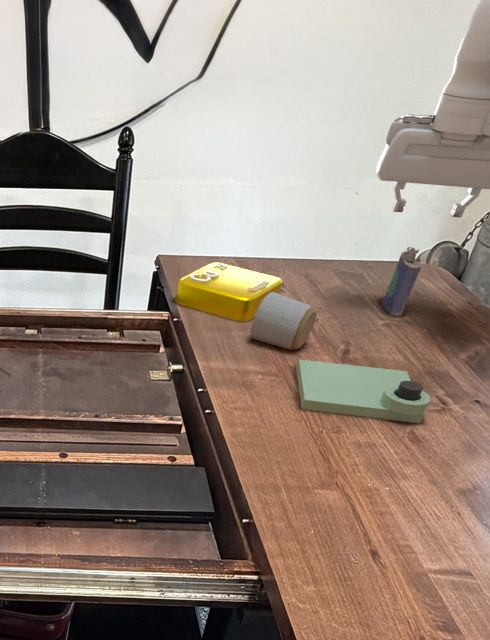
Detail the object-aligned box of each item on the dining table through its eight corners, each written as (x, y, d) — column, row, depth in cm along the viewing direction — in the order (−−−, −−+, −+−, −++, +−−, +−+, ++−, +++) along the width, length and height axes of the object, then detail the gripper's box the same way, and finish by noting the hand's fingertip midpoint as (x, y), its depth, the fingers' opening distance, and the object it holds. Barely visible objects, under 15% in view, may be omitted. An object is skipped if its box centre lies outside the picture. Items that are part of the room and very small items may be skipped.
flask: (402, 319, 129) (426, 256, 122) (385, 317, 129) (408, 255, 122) (395, 301, 135) (418, 241, 128) (379, 300, 136) (401, 239, 129)
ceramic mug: (292, 358, 116) (307, 310, 111) (245, 344, 120) (257, 298, 114) (316, 339, 122) (331, 293, 117) (270, 326, 126) (283, 281, 121)
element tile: (244, 325, 126) (250, 298, 123) (170, 304, 133) (175, 277, 130) (280, 302, 134) (287, 276, 131) (209, 283, 141) (214, 258, 138)
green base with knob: (405, 383, 110) (414, 361, 108) (423, 429, 99) (434, 407, 97) (295, 370, 113) (301, 349, 110) (301, 414, 102) (308, 392, 100)
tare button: (415, 393, 101) (421, 381, 99) (419, 403, 98) (425, 391, 97) (393, 390, 101) (398, 379, 100) (396, 400, 99) (401, 388, 98)
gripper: (397, 116, 111) (364, 213, 121) (539, 125, 108) (494, 224, 118) (391, 109, 116) (359, 203, 125) (527, 118, 113) (484, 214, 122)
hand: (425, 214), depth 121 cm, fingers open, 8 cm apart
